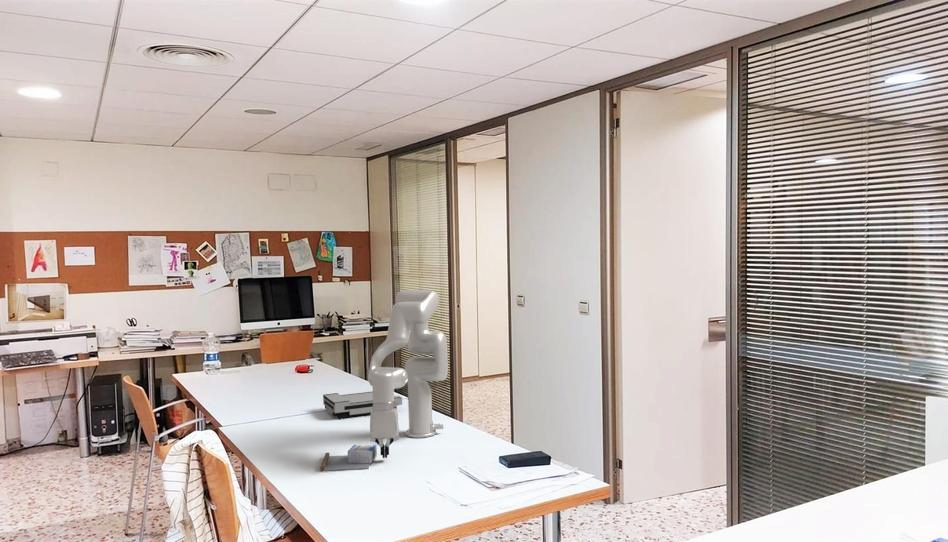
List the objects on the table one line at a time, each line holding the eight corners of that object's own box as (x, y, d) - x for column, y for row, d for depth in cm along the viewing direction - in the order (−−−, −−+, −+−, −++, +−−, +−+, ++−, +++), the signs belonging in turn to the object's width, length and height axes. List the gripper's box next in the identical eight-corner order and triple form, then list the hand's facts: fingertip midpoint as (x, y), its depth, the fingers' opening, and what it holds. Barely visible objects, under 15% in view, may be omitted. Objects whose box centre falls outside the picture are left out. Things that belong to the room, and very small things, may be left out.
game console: (402, 412, 318) (401, 394, 318) (335, 421, 303) (334, 403, 303) (387, 403, 336) (387, 387, 336) (323, 411, 322) (323, 394, 322)
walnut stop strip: (329, 457, 249) (329, 452, 249) (324, 471, 233) (324, 466, 233) (325, 457, 249) (325, 452, 248) (320, 471, 233) (320, 466, 233)
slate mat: (370, 455, 250) (370, 454, 250) (368, 469, 234) (368, 467, 234) (326, 457, 249) (326, 456, 249) (321, 471, 233) (321, 470, 233)
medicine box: (371, 451, 239) (347, 450, 240) (371, 463, 239) (347, 463, 240) (376, 444, 247) (353, 444, 248) (377, 456, 247) (353, 456, 248)
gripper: (404, 402, 247) (405, 452, 247) (363, 404, 245) (364, 455, 246) (404, 407, 239) (405, 459, 240) (361, 409, 238) (363, 461, 238)
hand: (384, 456), depth 243 cm, fingers closed
